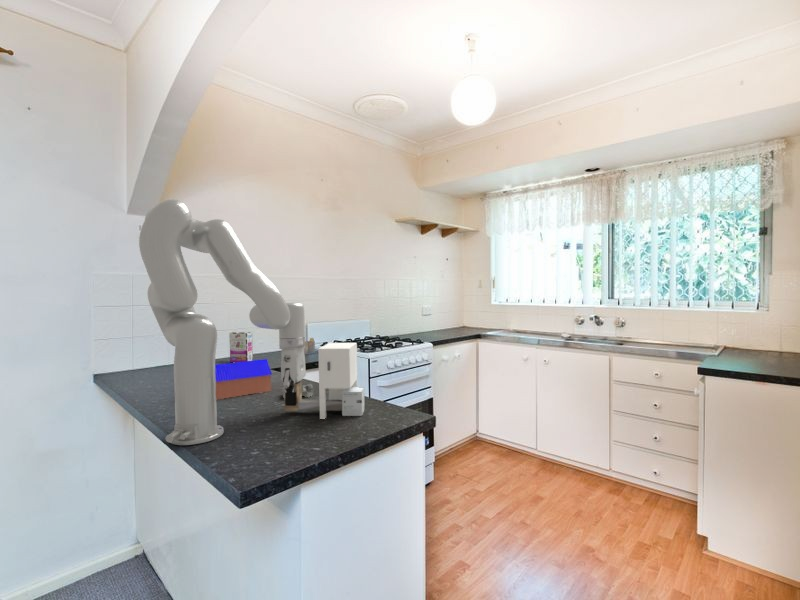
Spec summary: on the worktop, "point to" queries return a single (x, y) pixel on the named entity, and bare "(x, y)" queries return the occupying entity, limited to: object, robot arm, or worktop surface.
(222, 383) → the house
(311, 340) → the ruin model on sheet
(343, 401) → the skincare box
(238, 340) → the candy bar box
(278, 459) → the worktop surface
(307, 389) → the egg carton
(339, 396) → the cabinet
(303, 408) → the push stick
